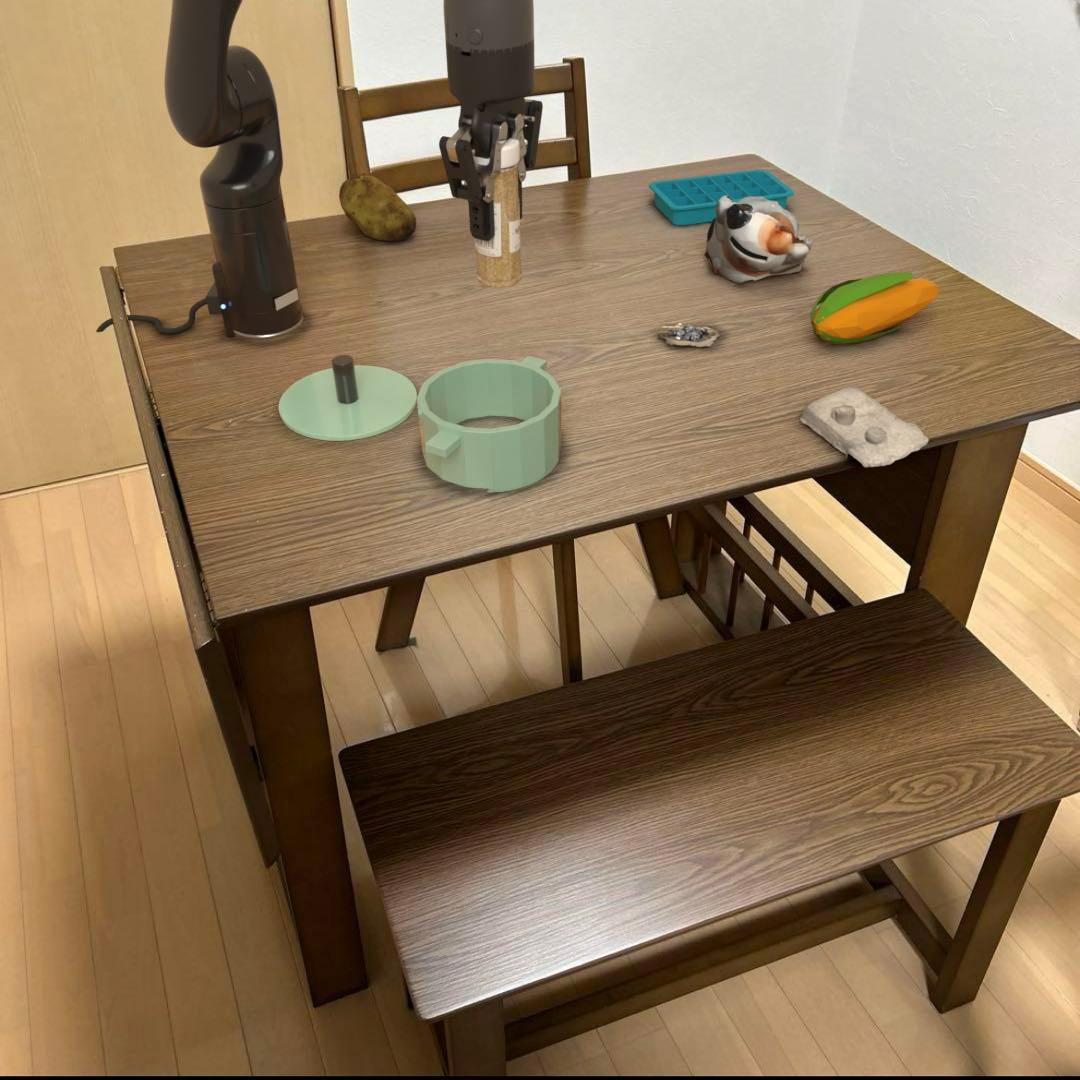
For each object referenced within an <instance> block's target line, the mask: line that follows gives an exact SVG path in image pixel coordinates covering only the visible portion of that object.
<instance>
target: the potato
mask: <svg viewBox="0 0 1080 1080" xmlns="http://www.w3.org/2000/svg"><path fill="white" fill-rule="evenodd" d="M338 198H339V202H340V206H341V209H342V211H343V213H344V215H345V217H347V219H348V220H349V221H351V222H352V223H354V224H356V225H357V226H358V227H359V229H360V231H361V232H362V233H363V234H364V235H365V236H367V237H369V238H371V239H374V240H376V241H382V242H383V241H384V242H397V241H405V240H406V239H408V238H410V237H411V236H413V235H414V234H415V232H416V229H417V218H416V216H415V213H414V212H413V210H412V208H411V207H410V206H408V204H407V203H406V202H405V201H404V200H403V199H402V198H401V196H399V194H397V191H396V190H394V189H392V188H391V186H389V185H387V184H385V183H384V182H382V181H381V180H380V179H379V178H377V177H375V176H374V175H370V174H366V173H361V174H360V173H359V174H354V175H352V176H351V177H348V178H347V179H346V180H344V181H343V182H342V184H341V185H340V187H339V194H338Z"/></svg>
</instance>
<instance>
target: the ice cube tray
mask: <svg viewBox="0 0 1080 1080" xmlns="http://www.w3.org/2000/svg"><path fill="white" fill-rule="evenodd" d="M648 188H649V189H650V190H651V192H653V198H654V200H653V201H654V205H655V206H656V208H657V209H659V211H660V212H661V213H663V215H664V216H666V218H667V219H668V220H669V221H670V222H671V223H672V224H673V225H676V226H686V225H694V224H702V223H709V222H711V223H712V220H713V219H714V218H715V217H716V212H715V209H716V205H717V201H718V199H720V198H721V197H723V196H725V195H728V196H729V197H730V199H731V200H732V201H734V202H737V201H738V200H740V199H741V198H744V197H748V196H759V197H764V198H766V199H768V200H770V201H777V202H779V203H780V206H781V207H782V208H783V209H786V205H787V201H788V198H791V197H793V196H794V195H795V194H794V193H795V190H793V189H791V187H789V186H788V185H787V184H786V183H785V182H783V181H782V180H780V179H779V178H778V177H776V176H775V175H774V174H773V173H771V172H770V171H769V170H767V169H762V168H761V169H760V168H757V169H748V170H747V169H746V170H739V171H730V172H723V173H715V174H707V175H698V176H697V175H696V176H690V177H681V178H680V177H679V178H672V179H665V180H663V179H662V180H656V181H652V182H649V184H648Z"/></svg>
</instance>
